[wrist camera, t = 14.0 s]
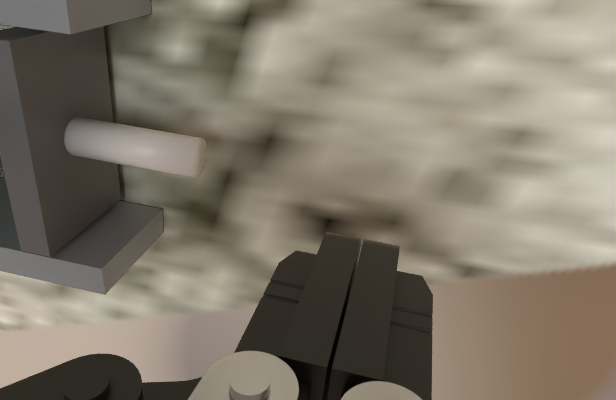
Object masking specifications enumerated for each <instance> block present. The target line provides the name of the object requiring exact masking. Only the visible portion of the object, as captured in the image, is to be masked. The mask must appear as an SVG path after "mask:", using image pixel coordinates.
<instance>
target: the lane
mask: <svg viewBox="0 0 616 400" xmlns="http://www.w3.org/2000/svg"><path fill="white" fill-rule="evenodd" d="M149 14H151V0H0V24H2V25H9V26H16V27H23V28H30V29H37V30H44V31H51V32H58V33H65V34H74V33H78V32H82V31H86V30H90V29H94V28H98V27H102V26H106V25H110V24H114V23H118V22H122V21H126V20H130V19H134V18H137V17H141V16H145V15H149ZM163 232H164V227H163V209H160V208H155V207H150V206H145V205H139V204H134V203H129V202H124V201H117V202H116V203H115V204H114V205H113V206H111V207H110V208H109V209H108V210H107V211H105V212H104V213H103V214H102V215H100V216H99V217H98V218H97V219H96V220H94V221H93V222H92V223H91V224H89V225H88V226H87V227H86V228H85V229H83V230H82V231H81V232H80V233H79V234H77V235H76V236H75V237H74V238H72V239H71V240H70V241H69V242H68V243H66V244H65V245H64V246H63V247H62V248H60V249H59V250H58V251H57V252H55V253H54V254H53V255H52V256H51V257H48V256H44V255H39V254H35V253H30V252H26V251H21V248H20V244H19V239H18V235H17V230H16V226H15V221H14V217H13V212H12V208H11V203H10V199H9V194H8V190H7V185H6V181H5V178H1V177H0V271H3V272H8V273H12V274H17V275H21V276H25V277H30V278H34V279H39V280H43V281H47V282H52V283H56V284H61V285H65V286H70V287H74V288H78V289H83V290H87V291H92V292H96V293H100V294H106V293H107V292H108V291H109V290H110V289H111V288H112V287H113V286H114V284H115V283H116V282H117V281H118V280H119V279H120V278H121V277H122V276H123V275H124V274H125V273H126V272H127V270H128V269H129V268H130V267H131V266H132V265H133V264H134V263H135V262H136V261H137V260H138V259H139V258H140V256H141V255H142V254H143V253H144V252H145V251H146V250H147V249H148V248H149V247H150V246H151V245H152V244H153V242H154V241H155V240H156V239H157V238H158V237H159V236H160V235H161V234H162V233H163Z"/></svg>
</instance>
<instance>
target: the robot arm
mask: <svg viewBox="0 0 616 400" xmlns="http://www.w3.org/2000/svg"><path fill="white" fill-rule="evenodd" d="M360 245H361V239H360V238H355V237H350V236H345V235H340V234H335V233H329V232H326V233H325V235H324V238H323V240H322V243H321V246H320V248H319V251H318V253H317V255H315V254H310V253H306V252H301V251H295V252H293V253H292V254H291V255H289V256H288V257H286V258H285V259H284V260H282V261H281V262H279V264H278V266H277V268H276V270H275V272H274V274H273V276H272V278H271V281H270V283H269V284H268V286H267V288H266V290H265V292H264V296H263V297H262V298H261V300H260V302H259V304H258V306H257V308H256V310H255V312H254V314H253V316H252V318H251V320H250V322H249V324H248V326H247V328H246V330H245V332H244V334H243V336H242V338H241V340H240V342H239V344H238V347H237V348H236V350H235V352H234V353H233V354H230V355H227V356H225V357H223V358H221V359H219V360H218V361H216V362H215V363H214V364H213V365H212V366H211V367H210V368H209V369H208V370H207V371H206V373H205V374H204V376H203V377H201V378H198V379H193V380H188V381H178V382H151V383H149V382H148V383H142V380H141V375H140V373H139V371H138V369H137V368H136V367H135V365H134V364H133V363H131V362H130V361H129V360H127V359H125V358H123V357H120V356H117V355H112V354H92V355H86V356H82V357H78V358H76V359H73V360H70V361H68V362H65V363H63V364H60V365H58V366H55V367H53V368H50V369H48V370H45V371H43V372H40V373H38V374H35V375H33V376H30V377H28V378H25V379H23V380H21V381H18V382H16V383H13V384H11V385H8V386H6V387H3V388H1V389H0V400H432V399H431V392H432V390H431V389H432V388H431V387H432V308H433V305H432V304H433V295H432V293H431V291H430V289H429V287H428V286H427V284H426V282H425V280H424V279H423V277H422V276H419V275H414V274H409V273H405V272H400V271H397V264H398V256H399V247H400V246H397V245H392V244H386V243H381V242H376V241H371V240H366V239H364V241H363V245H362V249H361V253H360V257H359V251H360ZM358 258H359V261H358ZM357 264H358V265H357Z"/></svg>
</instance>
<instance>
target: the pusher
mask: <svg viewBox="0 0 616 400" xmlns="http://www.w3.org/2000/svg"><path fill="white" fill-rule="evenodd" d="M0 158H1V163H2V167H3V172H4V176H5V181H6V185H7V190H8V194H9V199H10V203H11V208H12V212H13V217H14V221H15V226H16V230H17V235H18V239H19V244H20V248H21V251H26V252H30V253H35V254H39V255H44V256H48V257H51V256H52V255H53V254H54V253H55V252H57V251H58V250H59V249H60V248H62V247H63V246H64V245H65V244H66V243H68V242H69V241H70V240H71V239H72V238H74V237H75V236H76V235H77V234H79V233H80V232H81V231H82V230H83V229H85V228H86V227H87V226H88V225H89V224H91V223H92V222H93V221H94V220H96V219H97V218H98V217H99V216H100V215H102V214H103V213H104V212H105V211H107V210H108V209H109V208H110V207H111V206H113V205H114V204H115V203H116V202H117V201H119V200H120V199H121V192H120V183H119V173H118V164H123V165H128V166H133V167H139V168H144V169H150V170H155V171H161V172H166V173H172V174H177V175H183V176H188V177H193V178H197V177H198V176H199V175H200V174H201V172H202V170H203V168H204V165H205V161H206V143H205V140H204V139H203V138H199V137H193V136H188V135H182V134H176V133H170V132H164V131H158V130H152V129H147V128H141V127H135V126H129V125H123V124H117V123H113V113H112V104H111V94H110V84H109V74H108V64H107V54H106V44H105V34H104V26H102V27H98V28H94V29H90V30H86V31H82V32H78V33H74V34H65V33H58V32H51V31H44V30H37V29H30V28H23V27H14V28H9V29H4V30H0Z"/></svg>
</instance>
